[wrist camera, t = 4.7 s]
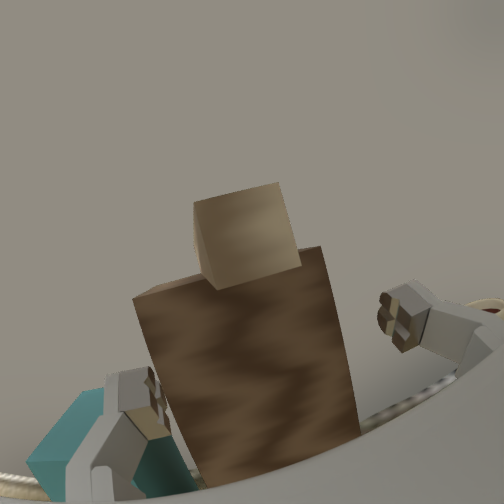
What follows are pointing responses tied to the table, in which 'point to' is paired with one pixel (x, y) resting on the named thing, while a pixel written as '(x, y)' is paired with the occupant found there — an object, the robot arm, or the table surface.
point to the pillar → (252, 368)
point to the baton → (244, 236)
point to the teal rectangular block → (73, 433)
